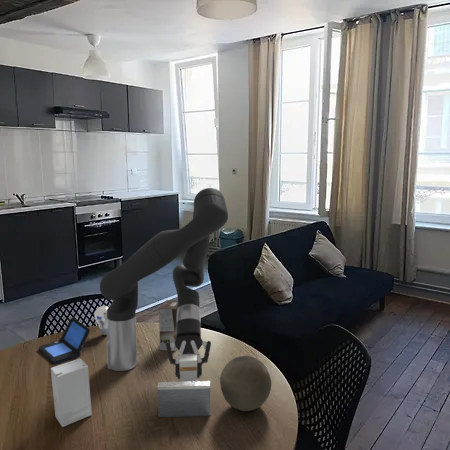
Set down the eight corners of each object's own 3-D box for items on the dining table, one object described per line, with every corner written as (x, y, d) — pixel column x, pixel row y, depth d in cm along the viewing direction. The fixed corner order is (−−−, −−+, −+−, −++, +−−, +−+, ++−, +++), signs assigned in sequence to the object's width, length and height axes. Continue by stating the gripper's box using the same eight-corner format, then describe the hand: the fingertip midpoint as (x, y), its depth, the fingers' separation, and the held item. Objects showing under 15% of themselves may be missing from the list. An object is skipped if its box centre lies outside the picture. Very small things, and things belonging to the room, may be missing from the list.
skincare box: (84, 406, 115) (81, 356, 112) (92, 416, 110) (89, 365, 108) (53, 417, 109) (49, 366, 107) (60, 429, 105) (57, 375, 103)
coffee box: (176, 351, 147) (175, 309, 145) (159, 350, 148) (158, 308, 146) (182, 340, 156) (181, 300, 154) (166, 339, 157) (165, 299, 155)
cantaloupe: (221, 394, 120) (221, 346, 118) (269, 395, 120) (269, 347, 118) (218, 425, 107) (218, 371, 104) (273, 426, 106) (274, 372, 104)
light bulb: (117, 333, 163) (116, 304, 161) (105, 340, 156) (104, 310, 154) (103, 330, 165) (102, 302, 164) (91, 337, 159) (90, 307, 157)
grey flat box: (158, 417, 110) (157, 387, 108) (159, 411, 112) (158, 382, 111) (210, 415, 110) (210, 385, 109) (210, 410, 113) (210, 380, 111)
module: (180, 393, 118) (179, 361, 116) (181, 385, 122) (180, 354, 120) (197, 392, 118) (196, 360, 117) (197, 385, 122) (196, 353, 121)
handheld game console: (37, 350, 149) (35, 326, 147) (73, 339, 158) (71, 316, 157) (54, 365, 138) (53, 339, 136) (92, 352, 147) (90, 328, 145)
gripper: (164, 318, 124) (162, 375, 114) (211, 316, 125) (213, 373, 115) (166, 327, 130) (164, 382, 120) (211, 325, 131) (213, 380, 121)
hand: (188, 377), depth 118 cm, fingers closed on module, 5 cm apart
